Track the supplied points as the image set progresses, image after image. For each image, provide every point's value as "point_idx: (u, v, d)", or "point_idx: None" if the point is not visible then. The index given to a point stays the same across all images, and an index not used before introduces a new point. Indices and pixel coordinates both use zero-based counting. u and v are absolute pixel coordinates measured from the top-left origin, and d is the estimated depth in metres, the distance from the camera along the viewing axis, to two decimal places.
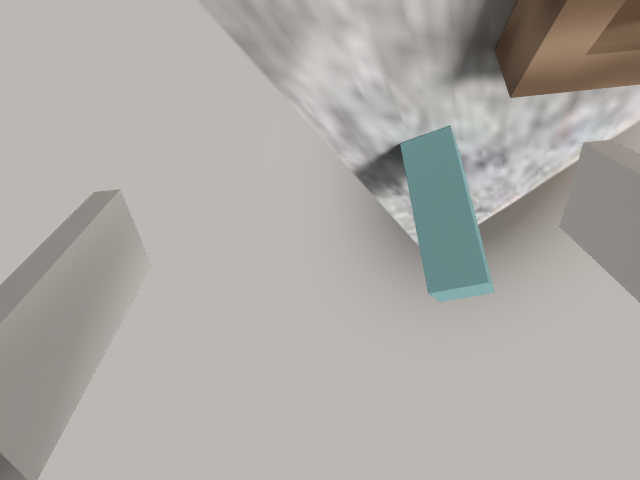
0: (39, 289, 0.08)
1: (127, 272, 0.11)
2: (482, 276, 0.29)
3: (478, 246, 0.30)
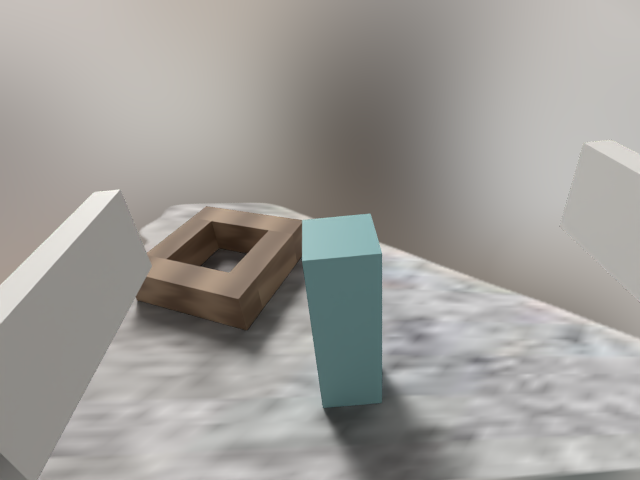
0: (39, 289, 0.08)
1: (127, 272, 0.11)
2: None
3: None
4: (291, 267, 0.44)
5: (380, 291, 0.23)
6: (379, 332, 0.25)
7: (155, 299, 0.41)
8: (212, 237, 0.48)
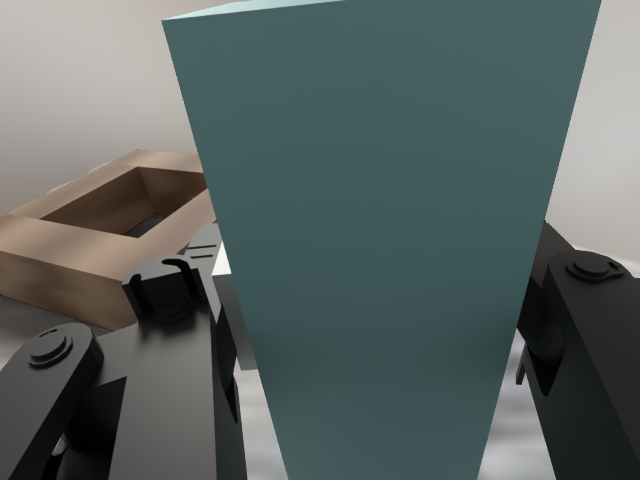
0: None
1: None
2: None
3: None
4: None
5: (539, 216, 0.05)
6: (494, 378, 0.07)
7: (16, 290, 0.23)
8: (140, 194, 0.30)
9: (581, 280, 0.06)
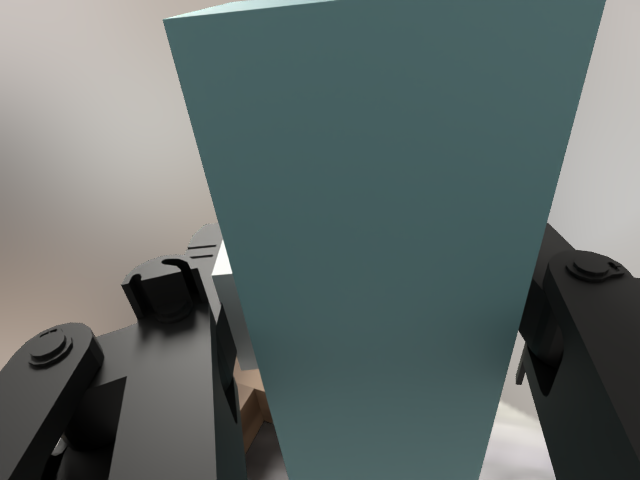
0: None
1: None
2: None
3: None
4: None
5: (542, 217, 0.05)
6: (496, 379, 0.07)
7: None
8: (255, 412, 0.29)
9: (581, 280, 0.06)
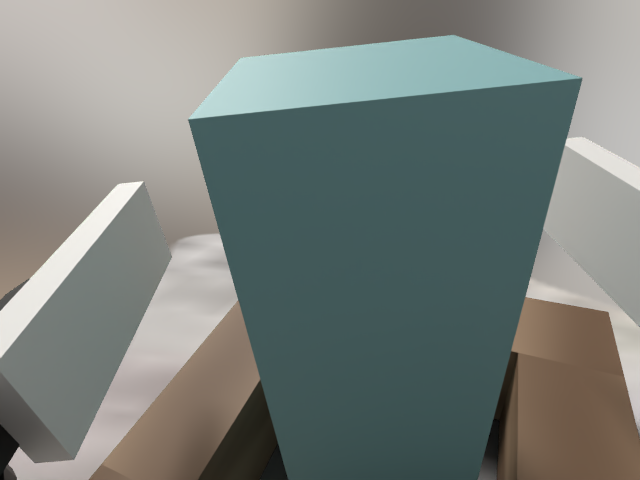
0: (76, 273, 0.08)
1: (150, 261, 0.11)
2: None
3: None
4: None
5: (525, 273, 0.06)
6: (487, 410, 0.08)
7: None
8: None
9: None
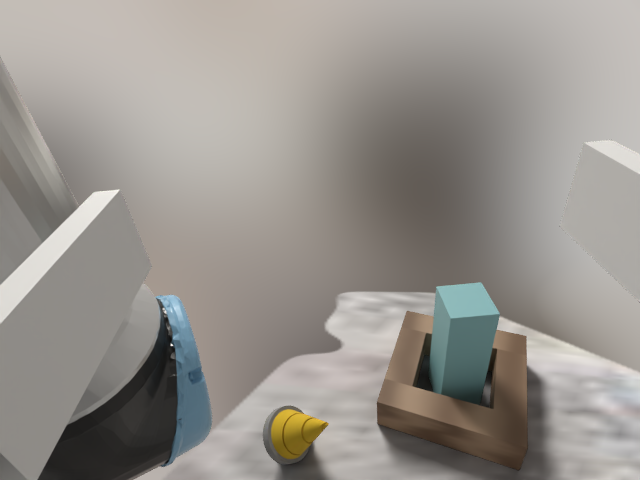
0: (39, 289, 0.08)
1: (127, 272, 0.11)
2: (437, 292, 0.39)
3: None
4: None
5: (494, 335, 0.37)
6: (488, 359, 0.39)
7: (405, 428, 0.41)
8: (424, 347, 0.48)
9: None
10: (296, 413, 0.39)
